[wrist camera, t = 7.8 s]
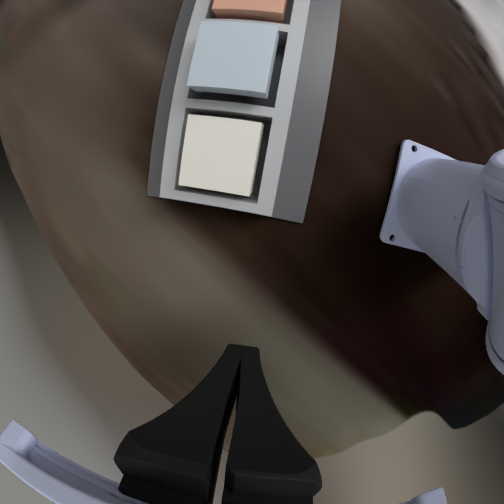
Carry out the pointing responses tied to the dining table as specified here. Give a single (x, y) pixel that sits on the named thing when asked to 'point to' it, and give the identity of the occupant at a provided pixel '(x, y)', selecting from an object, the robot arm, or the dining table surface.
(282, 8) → the terracotta key
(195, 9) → the keypad
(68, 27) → the dining table surface
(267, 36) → the bluegrey key
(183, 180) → the ivory key
